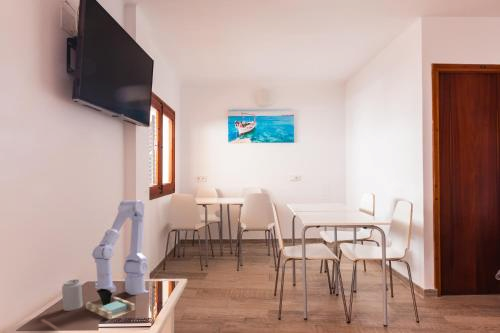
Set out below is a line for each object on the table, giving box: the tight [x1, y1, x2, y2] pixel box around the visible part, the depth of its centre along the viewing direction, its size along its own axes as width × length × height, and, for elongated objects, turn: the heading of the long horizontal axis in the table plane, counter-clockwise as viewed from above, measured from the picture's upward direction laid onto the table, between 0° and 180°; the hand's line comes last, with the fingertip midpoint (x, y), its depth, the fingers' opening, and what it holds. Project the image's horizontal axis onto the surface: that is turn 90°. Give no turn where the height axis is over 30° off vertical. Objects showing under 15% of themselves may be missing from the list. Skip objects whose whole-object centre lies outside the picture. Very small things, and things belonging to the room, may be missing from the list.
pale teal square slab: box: [101, 301, 127, 315], centre depth 146 cm, size 8×7×2 cm
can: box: [61, 278, 84, 311], centre depth 153 cm, size 8×8×12 cm
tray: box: [85, 294, 136, 320], centre depth 148 cm, size 20×11×3 cm, turn 49°
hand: (106, 306), depth 150 cm, fingers closed
